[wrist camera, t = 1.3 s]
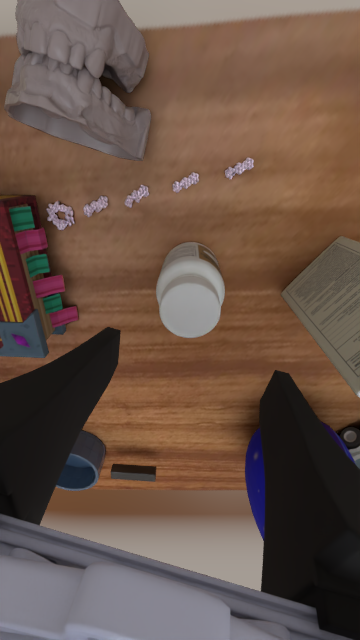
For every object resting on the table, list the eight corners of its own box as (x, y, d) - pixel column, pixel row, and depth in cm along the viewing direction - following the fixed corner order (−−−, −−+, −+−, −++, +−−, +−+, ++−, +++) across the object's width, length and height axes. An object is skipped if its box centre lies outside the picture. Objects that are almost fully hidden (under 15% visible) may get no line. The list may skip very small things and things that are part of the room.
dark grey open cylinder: (55, 464, 35) (43, 488, 32) (45, 427, 32) (32, 450, 29) (107, 467, 35) (100, 492, 32) (103, 431, 32) (95, 454, 29)
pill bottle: (225, 284, 23) (239, 333, 16) (174, 301, 24) (167, 353, 17) (208, 232, 21) (216, 262, 14) (154, 252, 22) (137, 289, 15)
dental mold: (-62, 73, 12) (-57, -78, 11) (34, 132, 19) (45, 43, 18) (112, 124, 12) (141, -23, 11) (148, 166, 19) (168, 78, 17)
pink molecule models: (55, 230, 22) (52, 233, 21) (42, 204, 20) (38, 206, 20) (254, 180, 19) (256, 182, 19) (252, 147, 18) (254, 148, 18)
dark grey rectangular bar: (113, 470, 32) (111, 478, 31) (112, 463, 31) (110, 472, 30) (156, 473, 32) (155, 481, 31) (156, 466, 31) (155, 474, 30)
